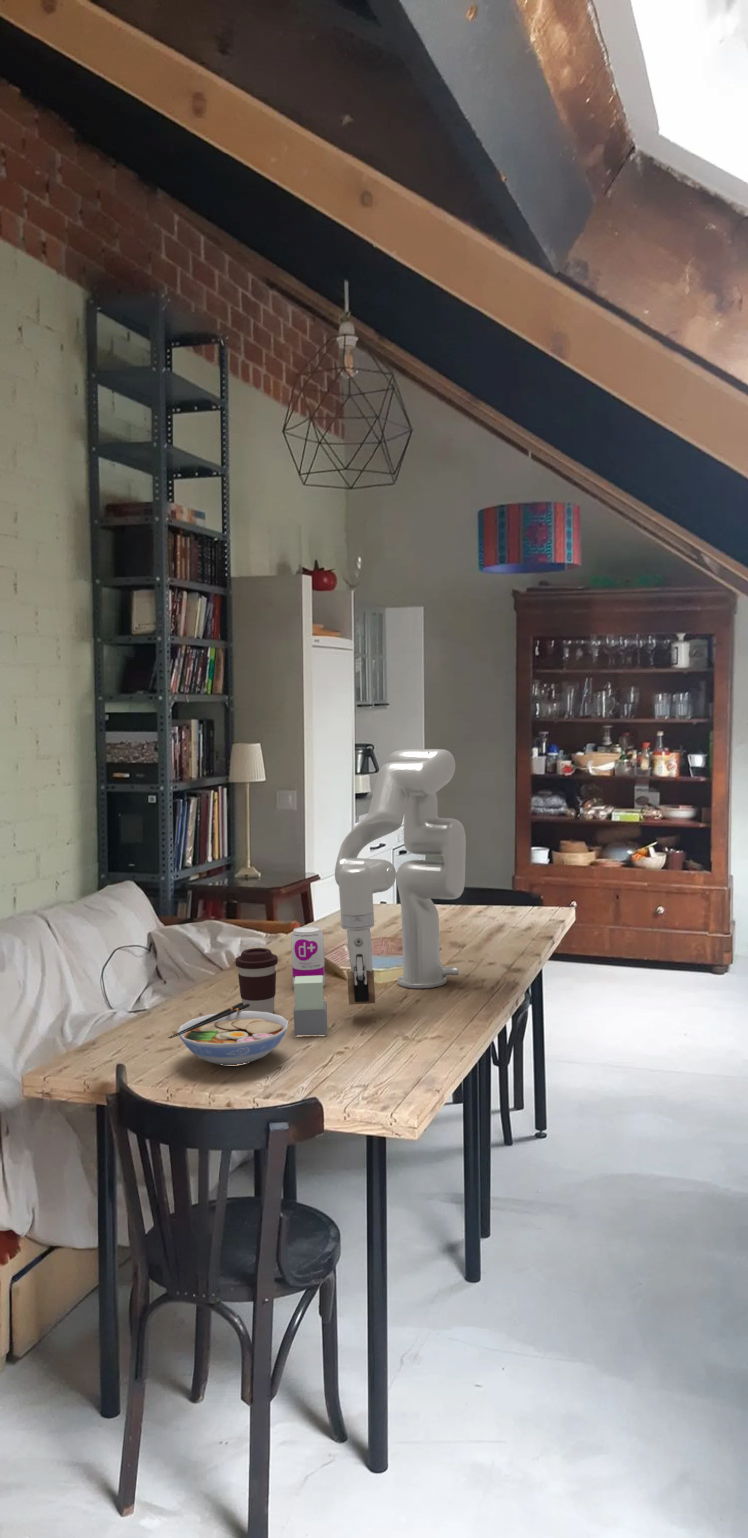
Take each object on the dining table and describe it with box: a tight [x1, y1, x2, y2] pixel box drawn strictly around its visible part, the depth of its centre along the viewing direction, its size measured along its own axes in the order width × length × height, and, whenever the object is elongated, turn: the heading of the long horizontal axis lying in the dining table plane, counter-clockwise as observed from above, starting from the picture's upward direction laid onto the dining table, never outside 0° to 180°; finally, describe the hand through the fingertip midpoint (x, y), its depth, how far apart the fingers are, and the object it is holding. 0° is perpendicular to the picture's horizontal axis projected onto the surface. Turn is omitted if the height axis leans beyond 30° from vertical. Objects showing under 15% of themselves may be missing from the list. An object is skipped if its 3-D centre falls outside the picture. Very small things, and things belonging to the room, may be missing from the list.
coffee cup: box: [235, 947, 279, 1014], centre depth 266 cm, size 10×10×15 cm
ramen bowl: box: [167, 1002, 289, 1065], centre depth 232 cm, size 25×23×8 cm
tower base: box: [293, 1000, 328, 1037], centre depth 250 cm, size 7×7×6 cm
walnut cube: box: [347, 969, 376, 1006], centre depth 258 cm, size 6×6×6 cm
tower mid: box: [293, 975, 325, 1011], centre depth 250 cm, size 6×6×6 cm
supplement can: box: [290, 926, 326, 987], centre depth 288 cm, size 8×8×15 cm
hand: (361, 995), depth 258 cm, fingers closed on walnut cube, 6 cm apart
